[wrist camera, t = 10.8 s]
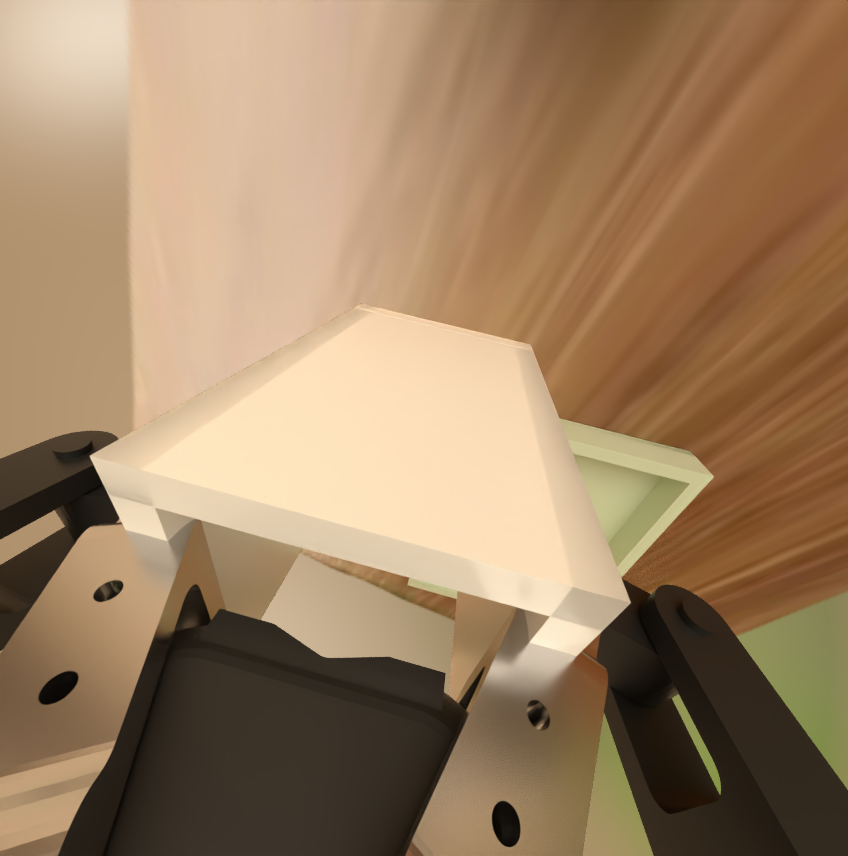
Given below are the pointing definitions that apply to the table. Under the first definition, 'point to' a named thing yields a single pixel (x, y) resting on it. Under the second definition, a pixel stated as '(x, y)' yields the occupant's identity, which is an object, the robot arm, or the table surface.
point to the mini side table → (384, 478)
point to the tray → (627, 489)
